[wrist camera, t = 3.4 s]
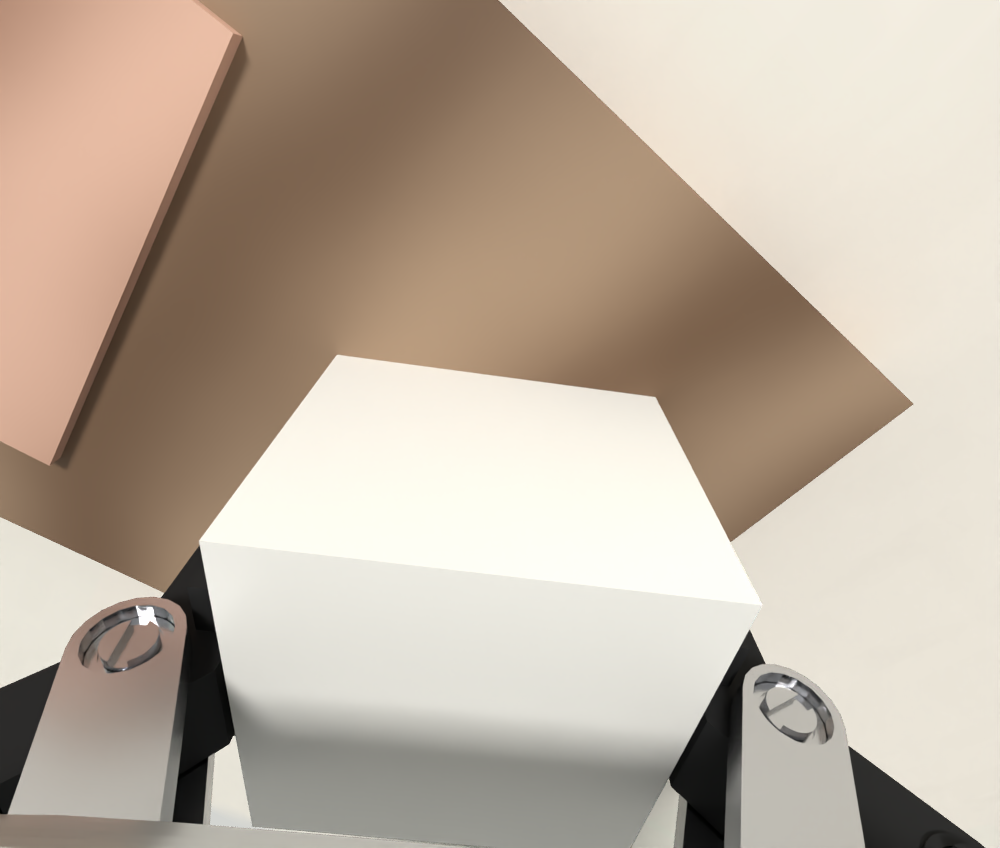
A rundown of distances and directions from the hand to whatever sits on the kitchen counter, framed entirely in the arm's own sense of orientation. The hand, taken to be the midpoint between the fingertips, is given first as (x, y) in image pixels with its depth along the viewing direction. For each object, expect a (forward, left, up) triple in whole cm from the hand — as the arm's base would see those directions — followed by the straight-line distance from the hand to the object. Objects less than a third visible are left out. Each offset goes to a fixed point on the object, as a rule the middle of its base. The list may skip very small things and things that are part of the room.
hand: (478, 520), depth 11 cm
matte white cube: (0, 0, -1) cm, 1 cm away
